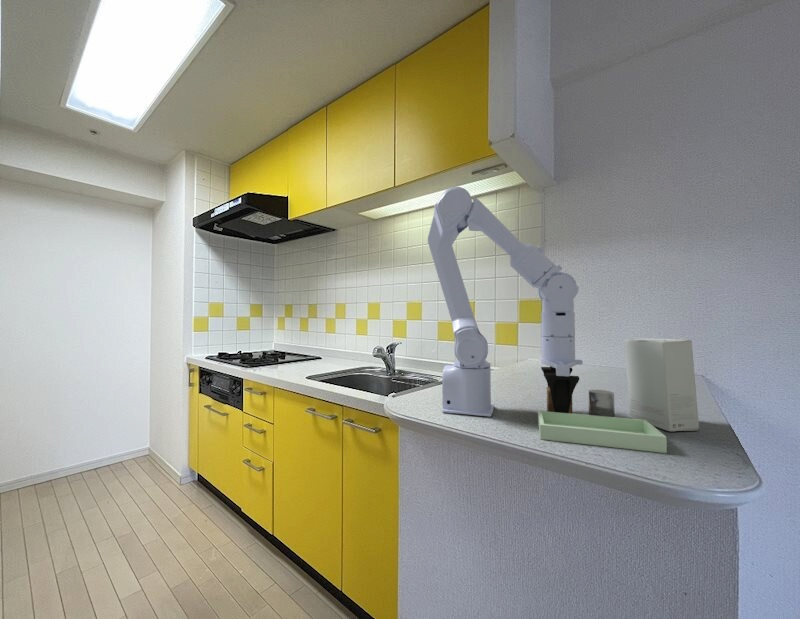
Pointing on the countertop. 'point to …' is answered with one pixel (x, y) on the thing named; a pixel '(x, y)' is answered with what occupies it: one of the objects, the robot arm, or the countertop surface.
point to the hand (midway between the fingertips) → (559, 408)
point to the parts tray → (601, 431)
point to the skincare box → (662, 383)
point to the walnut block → (550, 404)
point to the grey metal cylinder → (601, 403)
